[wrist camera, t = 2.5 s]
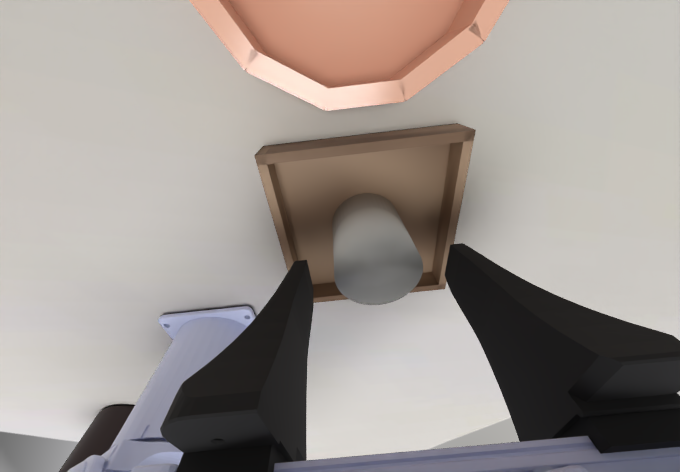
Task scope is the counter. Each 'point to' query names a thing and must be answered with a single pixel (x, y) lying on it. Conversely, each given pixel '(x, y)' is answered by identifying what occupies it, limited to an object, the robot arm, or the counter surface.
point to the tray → (368, 177)
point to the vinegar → (99, 435)
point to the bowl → (350, 44)
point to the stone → (373, 251)
